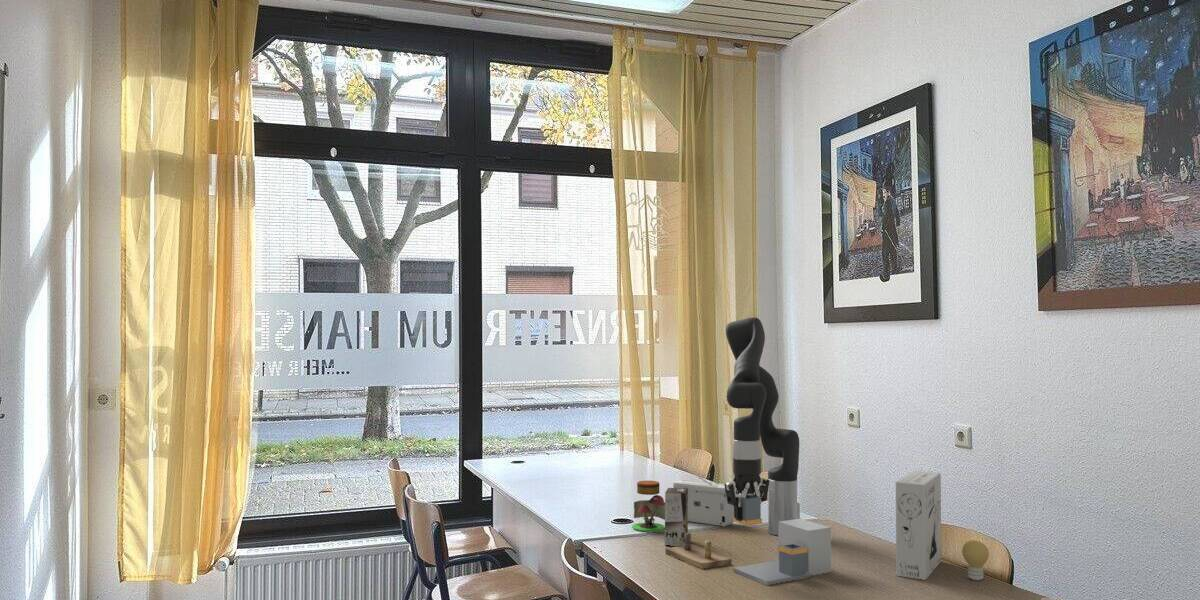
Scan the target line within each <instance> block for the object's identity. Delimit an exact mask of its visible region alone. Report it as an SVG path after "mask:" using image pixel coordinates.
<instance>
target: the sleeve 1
mask: <svg viewBox="0 0 1200 600" xmlns="http://www.w3.org/2000/svg"><path fill="white" fill-rule="evenodd" d="M738 500H739V498H738ZM761 505H762V503H761V497H756V496H752V495H749V494H748V495H746V497H745V499H743V503H742V506H741V507H742V521H737V520H736V519H735V518H734V517H733V521H734V522H733V523H737V524H740V525H743V526H747V527H748V526H753V525H760V524H762V523H763V521H762V520H763V518H761V515H762V514H761V512H762V510H761Z"/></svg>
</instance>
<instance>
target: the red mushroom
mask: <svg viewBox="0 0 1200 600" xmlns="http://www.w3.org/2000/svg"><path fill="white" fill-rule="evenodd" d="M636 484H637V485H636V490H637V491H636V493H637V494H639V495H643V496H644V495H646V496H652V495H653V496H652V497H651V498H650V499H644V500H643V499H642V500H637V501H634V502H633V519H638V518H639V519H640V518H642V519H643V520H644V522H639V523H634V524H632V526H631V529H632V528H633V529H632V530H634V531H637V530H638V531H637V532H643V531H647V532H649V533H653V532H655V531H656V532H661V531H663V530H665V524H664V525H663V524H660V523H657V522H655V520H656V519H655V518H658V519H661V520H664V521H665V498H663V497H662V496H661V495H659V494H660V482H659V481H656V480H639V481H637V483H636ZM654 517H655V518H654ZM660 530H661V531H660ZM647 532H646V533H647Z"/></svg>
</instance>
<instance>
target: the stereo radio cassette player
mask: <svg viewBox="0 0 1200 600" xmlns="http://www.w3.org/2000/svg"><path fill="white" fill-rule="evenodd" d="M676 464H679V465H680V466H682V468H684V469H686V470H687V471H688V472H690V473H692V474H693V475H695V476H696V477H697V478H699V479H700V480H693V479H683V478H682V479H678V480H675V481H673V482H672V488H688V522H691V523H700V524H706V525H712V526H713V525H714V526H720V527H724V528H725V527H727V526H729V525H732V524H733V523H735V522H734V521H733V517H734V506H733V505H731V504H728V503H727V497H726V491H725V486H724V484H725V483H719V482H712V481H711V482H710V481H707V480H706V479H704V478H703V477H702V476H700V475H698V474H697V473H695V472H694V471H692V470H691V469H689V468H687V467H686V466H685V465H683V464H681V463H680V462H679V461H676ZM735 490H736V487H735ZM735 490H734V491H735Z"/></svg>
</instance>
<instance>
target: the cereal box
mask: <svg viewBox="0 0 1200 600" xmlns="http://www.w3.org/2000/svg"><path fill="white" fill-rule="evenodd" d="M895 556H896V557H895V570H896V571H895V574H896V576H897V577H901V576H902V578H907V577H908V579H914V578H915V579H914V580H920V579H921V581H926V580H927V579H928V578H929V576H930V575H931V574H932V573H933V572H934V571H933V570H935V569H936V568H937V567H938V566H939V565H940V563H941V562H942V475H941V473H940V472H934V471H933V472H931V471H923V470H913V471H911V472H910V473H907V475H905V476H903V477H902V478H899V480H897V481H896V482H895Z"/></svg>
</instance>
